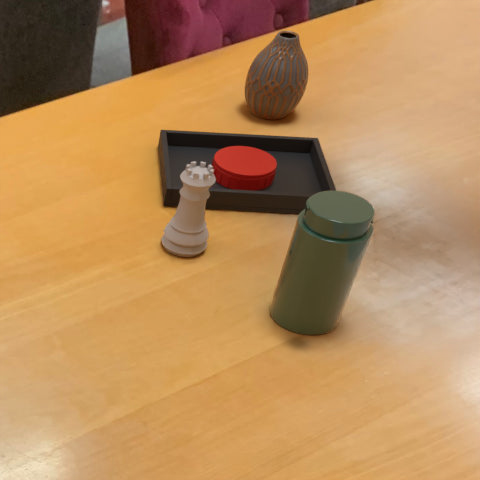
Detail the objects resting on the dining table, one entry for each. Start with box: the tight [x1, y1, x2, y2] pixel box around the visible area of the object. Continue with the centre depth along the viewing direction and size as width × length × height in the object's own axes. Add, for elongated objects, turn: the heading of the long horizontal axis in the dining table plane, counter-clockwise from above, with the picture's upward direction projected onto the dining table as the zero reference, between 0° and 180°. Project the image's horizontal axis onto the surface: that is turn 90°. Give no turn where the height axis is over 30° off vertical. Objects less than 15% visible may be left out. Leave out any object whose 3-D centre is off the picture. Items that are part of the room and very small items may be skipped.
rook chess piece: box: [160, 161, 216, 258], centre depth 84 cm, size 4×4×8 cm
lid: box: [212, 146, 277, 191], centre depth 95 cm, size 7×7×2 cm
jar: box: [269, 190, 376, 336], centre depth 76 cm, size 6×6×10 cm
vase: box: [244, 30, 309, 120], centre depth 104 cm, size 7×7×9 cm
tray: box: [157, 129, 337, 215], centre depth 95 cm, size 17×13×2 cm
